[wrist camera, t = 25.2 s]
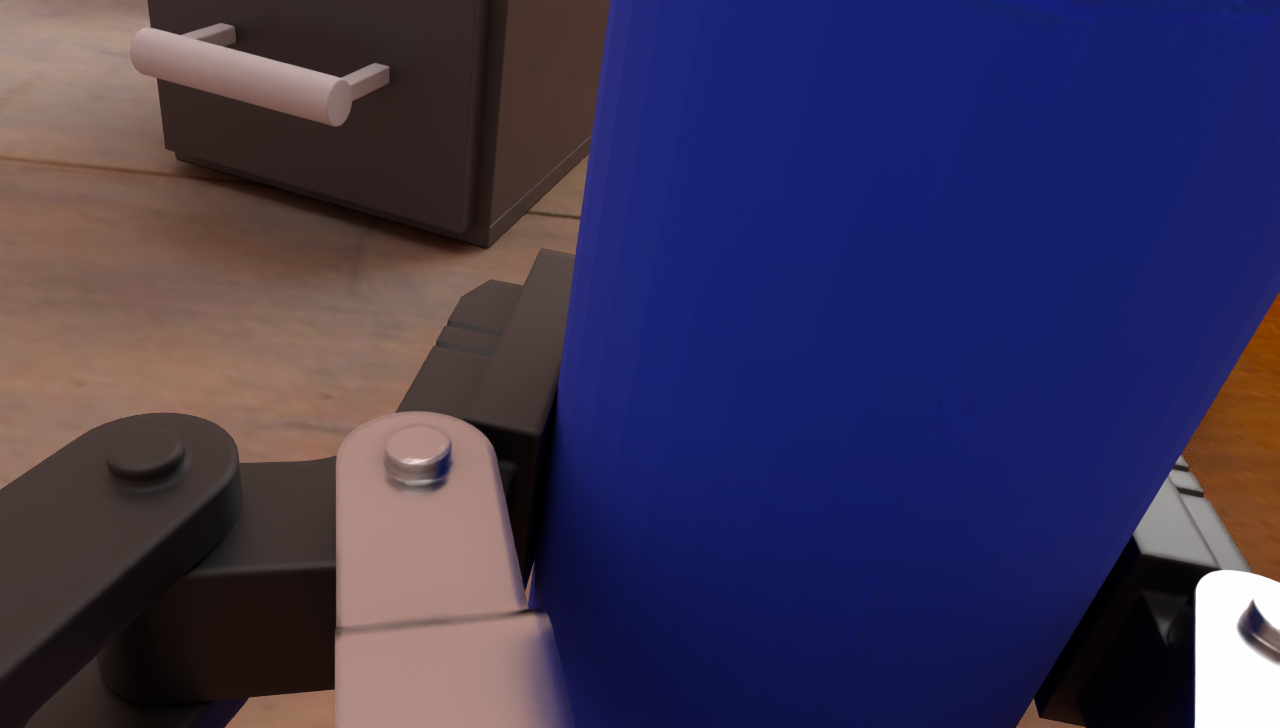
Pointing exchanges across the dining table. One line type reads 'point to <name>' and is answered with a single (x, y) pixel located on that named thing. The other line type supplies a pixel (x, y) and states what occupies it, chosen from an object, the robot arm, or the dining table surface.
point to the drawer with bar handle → (329, 95)
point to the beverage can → (889, 342)
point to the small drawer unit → (518, 111)
